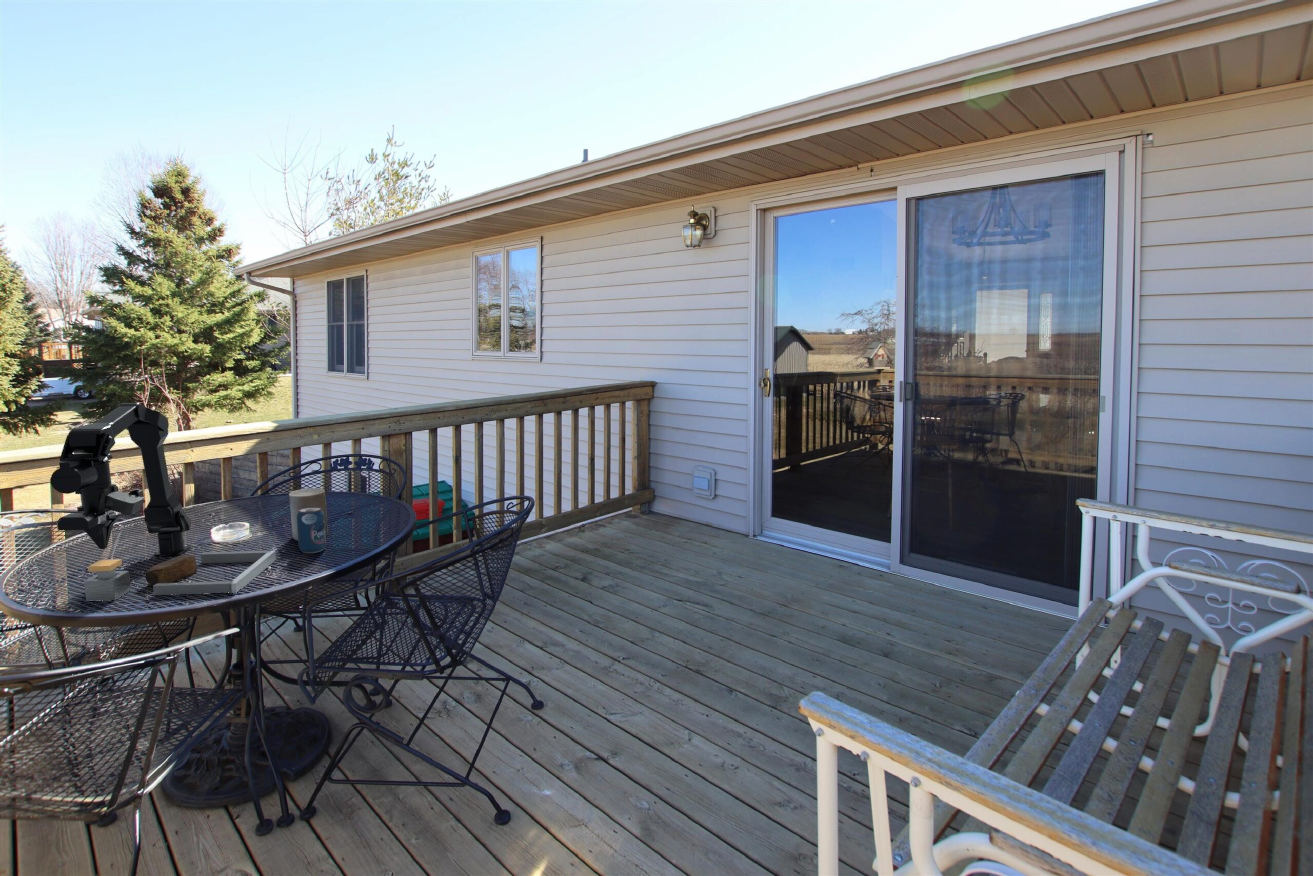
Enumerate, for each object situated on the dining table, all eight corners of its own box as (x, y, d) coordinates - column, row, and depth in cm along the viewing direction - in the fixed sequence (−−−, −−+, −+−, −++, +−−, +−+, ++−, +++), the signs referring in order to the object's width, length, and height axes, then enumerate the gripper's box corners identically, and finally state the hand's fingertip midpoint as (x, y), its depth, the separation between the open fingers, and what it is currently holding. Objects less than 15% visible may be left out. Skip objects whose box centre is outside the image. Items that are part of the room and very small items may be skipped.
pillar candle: (335, 532, 212) (331, 484, 209) (316, 542, 202) (312, 492, 200) (304, 531, 213) (301, 483, 210) (285, 540, 203) (280, 491, 201)
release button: (103, 581, 163) (100, 559, 162) (123, 580, 164) (121, 559, 163) (91, 588, 159) (88, 566, 158) (112, 587, 159) (109, 565, 158)
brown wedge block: (184, 571, 178) (182, 553, 178) (197, 572, 178) (195, 555, 177) (145, 586, 168) (143, 568, 167) (159, 588, 167) (156, 569, 167)
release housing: (103, 591, 164) (100, 571, 163) (131, 590, 165) (128, 571, 164) (86, 602, 158) (83, 581, 157) (115, 601, 159) (112, 580, 158)
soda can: (318, 554, 192) (316, 512, 190) (294, 553, 192) (291, 512, 190) (330, 546, 199) (328, 505, 197) (307, 545, 199) (304, 505, 197)
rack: (204, 561, 185) (203, 552, 185) (276, 559, 188) (275, 550, 187) (154, 596, 162) (152, 586, 162) (236, 593, 165) (235, 583, 164)
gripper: (108, 492, 149) (116, 561, 152) (157, 473, 167) (164, 535, 170) (50, 493, 147) (60, 563, 150) (106, 473, 166) (114, 536, 168)
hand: (103, 548), depth 160 cm, fingers closed
